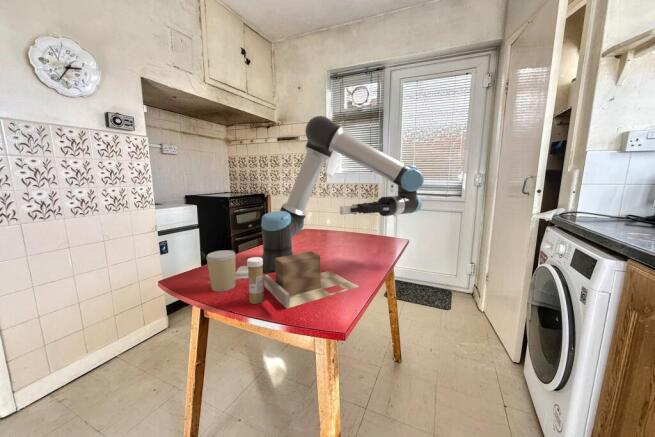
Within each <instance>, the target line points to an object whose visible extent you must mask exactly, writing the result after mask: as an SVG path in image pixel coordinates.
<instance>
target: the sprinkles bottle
mask: <svg viewBox="0 0 655 437" xmlns="http://www.w3.org/2000/svg"><path fill="white" fill-rule="evenodd" d="M262 265H263V259H262V257H259V256H253V257H249V258H247V260H246V266H248V275H249V278H248V279H247V280H248V292H249V293H248V294H249V303H250V304H255V305H257V304H261V303H263V302H264V301H265V293H264V291H265V289H264V288H265V285H264V273H263V268H262Z"/></svg>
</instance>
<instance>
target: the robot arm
mask: <svg viewBox="0 0 655 437" xmlns="http://www.w3.org/2000/svg"><path fill="white" fill-rule="evenodd" d="M305 136H306V139H307V141H306V144H305V150H306V154H305V156H304V158H303V161H302V164H301V166H300V168H299V172H298V174H297V177H296V178H295V181H294V183H293V186H292V189H291V191H290V193H289V194H290V195H289V196H288V200H287V201H286V202H285V203H282V204H281V208H280V209H279V210H278V211H277V210H276V211H275V210H274V211H272V212H271V211H270V212H267V213H265V214H263V215H262V217H261V223H260V224H261V236H262V256H261V258H262V259H263V265H262V268H263V275H268V274H272V273H276V272H275V258H278V257H283V256H289V255H294V254H295V253H294V251H293V243H292V238H293V237H294V236H296V235H298V234H299V233H300V232H301V231H302V229H303V228H304V225H305V224H304V223H305V218H306V215H307V212H306V207H307V205H308V202H309V200H310V197H311V196H312V193H313V190H314V188H315V187H316V183H317V181H318V178H319V176H320V174H321V173H322V172H321V171H322V169H323V167H324V165H325V162H326V161H327V160H329V159H331V157H332V155H333V153H334V152H336V153H337V154H340V155H342V156H343V157H345V158H347V159H349V160H351V161H352V162H355V163H356V164H358V165H360V166H362V167H363V168H366V169H367V170H369V171H371V172H373V173H375V174H377V175H379V176H380V177H382V178H384V179H386V180H388V181H390V182H391V183H393V184H395V185H396V186H397V195H389V196H381V197H380V198H378V200H377V201H372V202H364V203H357V204H354V203H353V204H352V205H342V206H339V213H340V215H342V216H343V215H351V214H353V215H357V214H377V213H378V214H379V215H380V216H382V217H390V216H393V217H397V215H405V214H406V215H407V214H413V213H416V212H419V211H420V210H421V208H422V205H423V203H422V202H423V201H422V199H421V197H420V196H419V195H418V193H417V192H418V190H419V189H421V187H423V184H424V180H425V179H424V175H423V173H422V172H421V171H419V169H418V166H417V165H407V164H405V163H403V162H401V161H400V160H397V159H396V158H394V157H392V156H390V155H388V154H386V153H384V152H383V151H380V150H379V149H377V148H375V147H373V146H371V145H369V144H368V143H366V142H364V141H362V140H360V139H358V138H357V137H354V136H353V135H351V134H348V133H347V132H345V131H344V129H343V127H342V126H340V125H339V124H337V123H335V122H333V121H332V120H331V119H330V118H328V117H327V116H323V115H316V116H314V117H312V118H311V119H310V120H308V122H307V124H306V126H305Z"/></svg>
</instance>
